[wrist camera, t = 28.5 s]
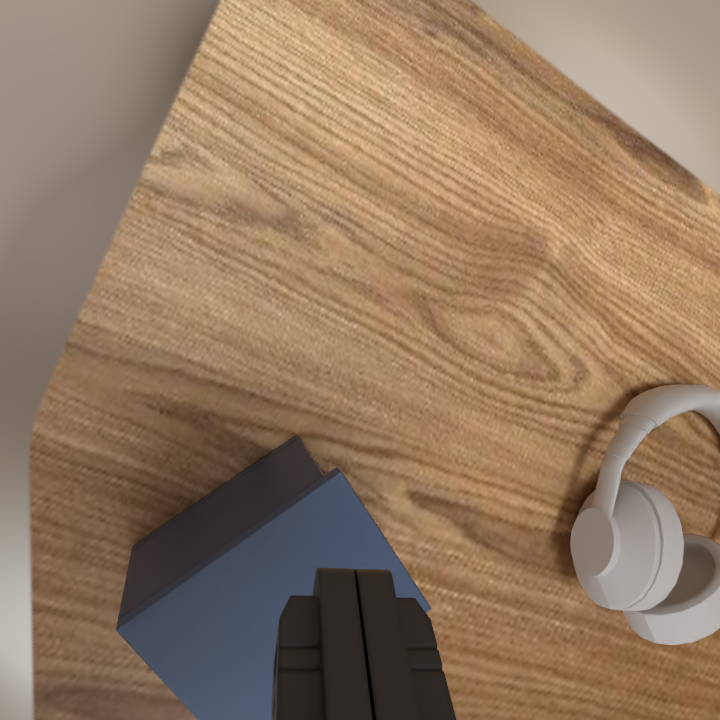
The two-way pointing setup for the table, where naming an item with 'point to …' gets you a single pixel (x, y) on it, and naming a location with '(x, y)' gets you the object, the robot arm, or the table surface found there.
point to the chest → (217, 520)
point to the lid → (254, 600)
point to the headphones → (648, 534)
